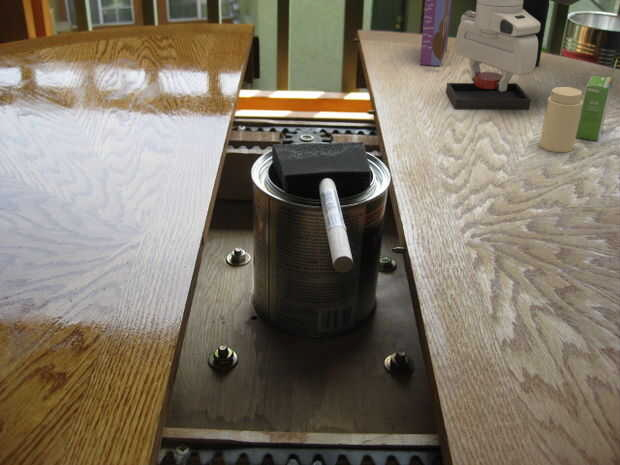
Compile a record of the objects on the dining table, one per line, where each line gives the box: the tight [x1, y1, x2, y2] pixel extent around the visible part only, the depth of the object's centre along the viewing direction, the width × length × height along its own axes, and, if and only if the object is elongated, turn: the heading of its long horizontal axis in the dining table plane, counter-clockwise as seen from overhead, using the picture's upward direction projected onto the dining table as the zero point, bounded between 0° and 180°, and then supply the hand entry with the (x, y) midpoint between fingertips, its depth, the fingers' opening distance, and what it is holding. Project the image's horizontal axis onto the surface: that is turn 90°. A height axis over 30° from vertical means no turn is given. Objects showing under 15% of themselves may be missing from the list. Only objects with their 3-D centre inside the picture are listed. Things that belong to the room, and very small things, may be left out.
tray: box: [445, 82, 532, 110], centre depth 139 cm, size 15×11×2 cm
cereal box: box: [419, 0, 453, 67], centre depth 164 cm, size 17×5×24 cm, turn 164°
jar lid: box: [473, 71, 503, 89], centre depth 137 cm, size 6×6×2 cm
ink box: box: [576, 58, 618, 141], centre depth 119 cm, size 7×4×13 cm, turn 152°
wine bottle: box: [522, 0, 550, 67], centre depth 157 cm, size 6×6×30 cm
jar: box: [539, 86, 583, 153], centre depth 115 cm, size 6×6×10 cm
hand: (488, 85), depth 138 cm, fingers closed on jar lid, 6 cm apart
